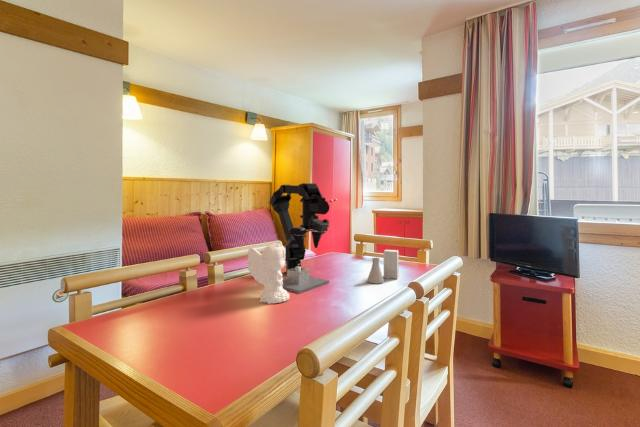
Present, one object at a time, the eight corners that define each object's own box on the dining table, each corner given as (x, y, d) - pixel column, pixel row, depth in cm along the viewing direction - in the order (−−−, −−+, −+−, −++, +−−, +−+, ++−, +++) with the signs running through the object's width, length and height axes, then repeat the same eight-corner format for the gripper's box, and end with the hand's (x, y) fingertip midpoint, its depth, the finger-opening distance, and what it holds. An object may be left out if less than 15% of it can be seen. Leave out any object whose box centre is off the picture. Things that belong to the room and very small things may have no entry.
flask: (383, 279, 144) (384, 256, 143) (384, 284, 137) (385, 260, 136) (366, 279, 145) (366, 256, 144) (367, 283, 138) (367, 259, 137)
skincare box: (398, 277, 148) (399, 250, 147) (397, 279, 144) (397, 251, 143) (384, 275, 151) (385, 248, 150) (382, 278, 147) (383, 250, 146)
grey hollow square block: (287, 281, 137) (287, 269, 136) (297, 278, 142) (297, 266, 141) (298, 284, 133) (298, 272, 132) (309, 281, 138) (309, 269, 137)
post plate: (266, 284, 136) (266, 267, 135) (296, 275, 150) (296, 260, 149) (299, 293, 125) (299, 275, 124) (328, 282, 139) (329, 266, 138)
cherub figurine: (264, 307, 110) (264, 247, 108) (246, 298, 119) (245, 242, 118) (296, 299, 119) (296, 243, 117) (277, 290, 128) (276, 238, 126)
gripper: (309, 215, 130) (309, 255, 131) (337, 212, 144) (337, 248, 145) (288, 213, 137) (288, 251, 138) (317, 211, 151) (317, 245, 152)
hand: (309, 249), depth 143 cm, fingers open, 9 cm apart
